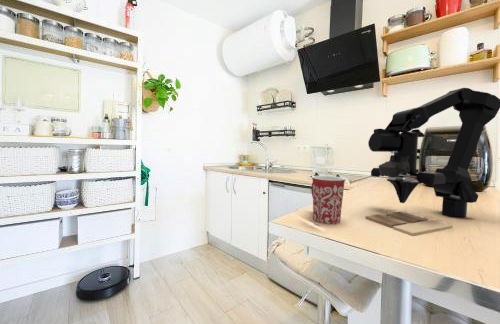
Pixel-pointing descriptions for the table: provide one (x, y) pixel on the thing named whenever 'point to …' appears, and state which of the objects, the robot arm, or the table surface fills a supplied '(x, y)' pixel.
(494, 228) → the table surface
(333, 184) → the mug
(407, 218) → the plank
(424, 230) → the underlay base
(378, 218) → the plank
